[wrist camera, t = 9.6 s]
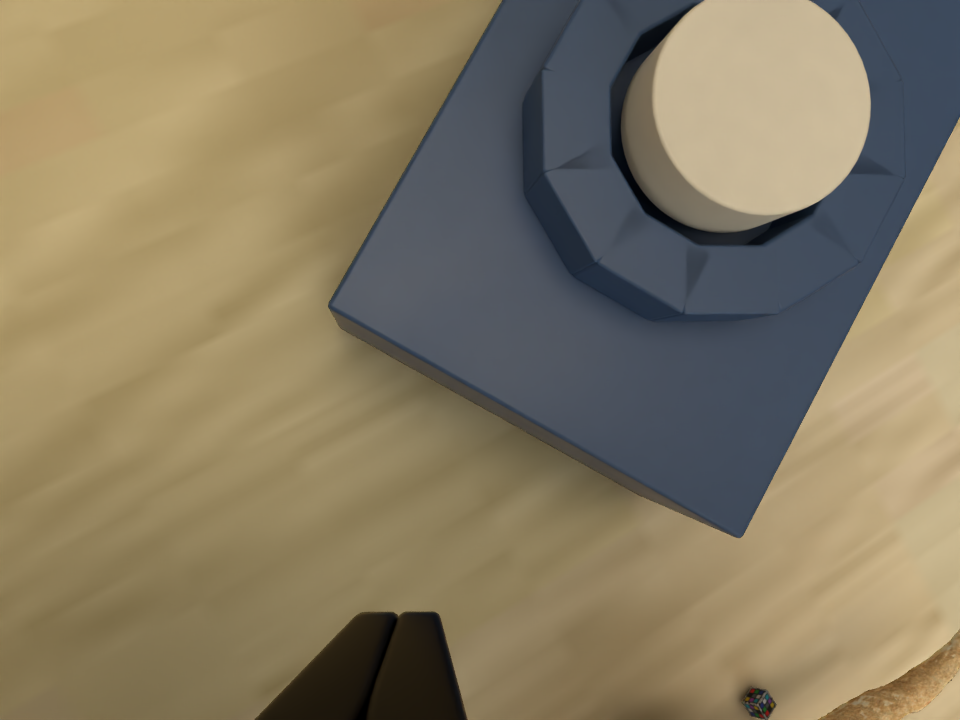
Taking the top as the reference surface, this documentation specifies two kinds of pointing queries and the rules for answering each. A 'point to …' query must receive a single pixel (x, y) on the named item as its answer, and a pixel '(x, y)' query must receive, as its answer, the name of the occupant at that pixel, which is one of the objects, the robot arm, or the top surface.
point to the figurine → (883, 691)
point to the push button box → (637, 253)
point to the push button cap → (746, 113)
